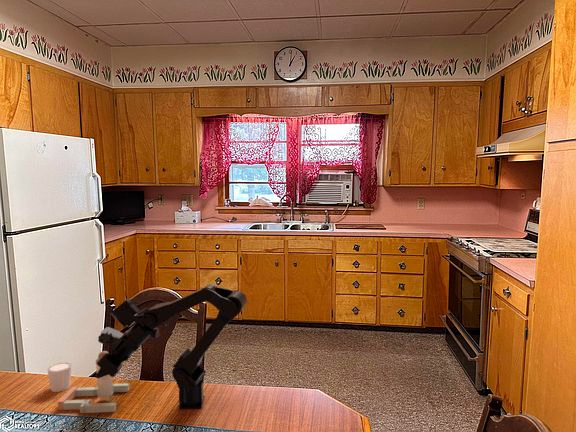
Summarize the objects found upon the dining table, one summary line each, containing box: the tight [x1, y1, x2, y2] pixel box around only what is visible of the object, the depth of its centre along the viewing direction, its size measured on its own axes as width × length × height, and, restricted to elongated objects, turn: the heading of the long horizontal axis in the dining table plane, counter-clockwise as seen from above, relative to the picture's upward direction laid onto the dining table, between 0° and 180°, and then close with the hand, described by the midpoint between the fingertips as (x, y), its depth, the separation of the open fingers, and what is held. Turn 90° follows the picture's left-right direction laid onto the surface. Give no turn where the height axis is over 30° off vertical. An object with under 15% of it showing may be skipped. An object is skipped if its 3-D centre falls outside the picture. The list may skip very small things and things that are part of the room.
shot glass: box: [47, 362, 72, 393], centre depth 133 cm, size 7×7×7 cm
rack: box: [57, 383, 130, 414], centre depth 124 cm, size 17×13×2 cm
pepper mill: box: [95, 350, 114, 399], centre depth 124 cm, size 5×5×14 cm
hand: (100, 373), depth 124 cm, fingers closed on pepper mill, 4 cm apart
